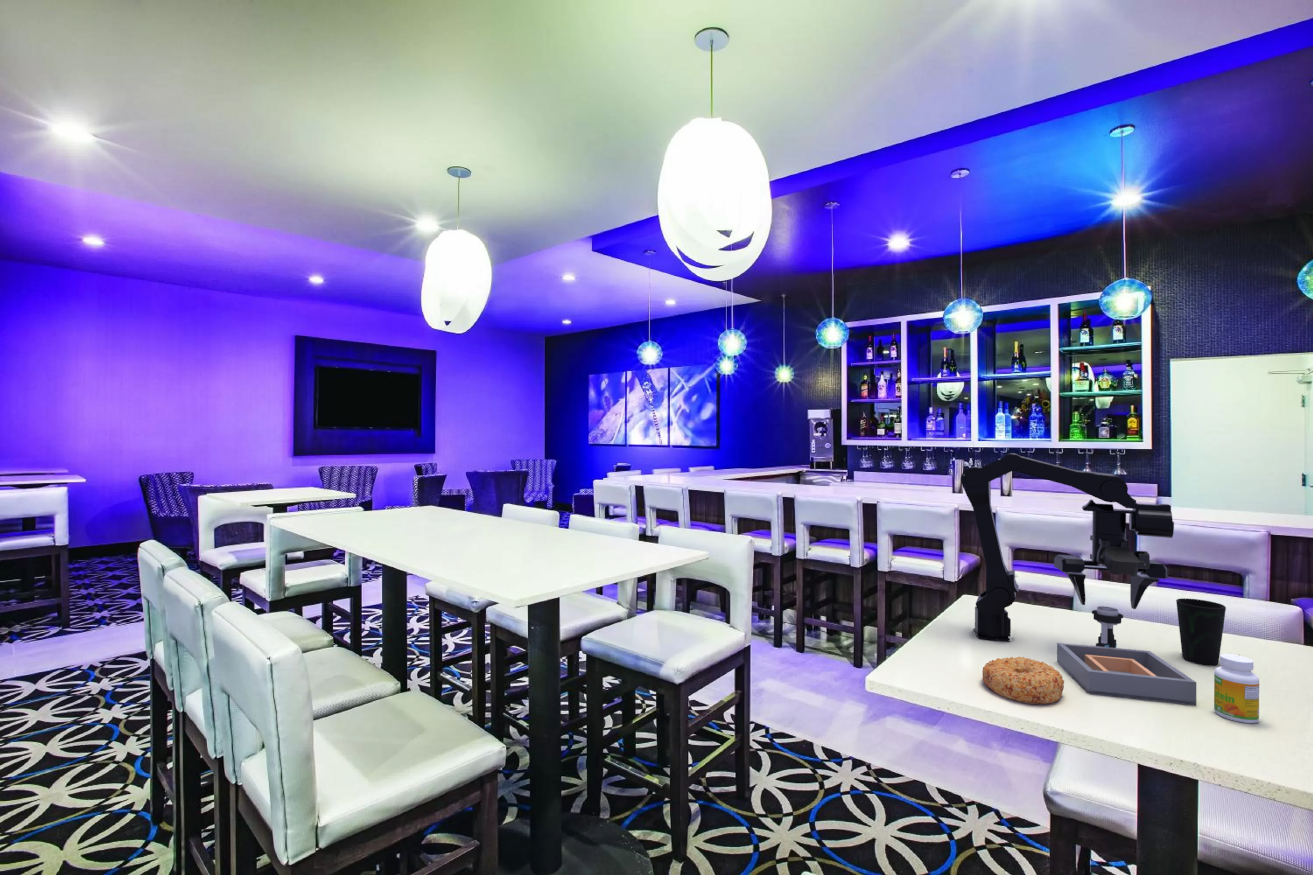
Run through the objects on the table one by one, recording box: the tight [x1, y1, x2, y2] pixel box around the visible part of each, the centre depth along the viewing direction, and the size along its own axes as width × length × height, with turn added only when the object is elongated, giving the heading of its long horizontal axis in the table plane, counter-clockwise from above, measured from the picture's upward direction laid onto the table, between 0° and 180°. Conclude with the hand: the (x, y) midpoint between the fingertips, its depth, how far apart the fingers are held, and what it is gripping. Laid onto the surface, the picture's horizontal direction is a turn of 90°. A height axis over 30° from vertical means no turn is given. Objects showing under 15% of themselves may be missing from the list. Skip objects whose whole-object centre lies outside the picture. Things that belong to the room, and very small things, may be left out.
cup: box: [1175, 597, 1227, 667], centre depth 125 cm, size 8×8×12 cm
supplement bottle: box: [1213, 653, 1260, 724], centre depth 100 cm, size 5×5×10 cm
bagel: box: [981, 656, 1065, 705], centre depth 110 cm, size 13×14×5 cm
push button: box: [1091, 605, 1124, 648], centre depth 128 cm, size 7×5×10 cm
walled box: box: [1056, 642, 1197, 706], centre depth 114 cm, size 16×16×4 cm
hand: (1108, 606), depth 128 cm, fingers open, 9 cm apart
